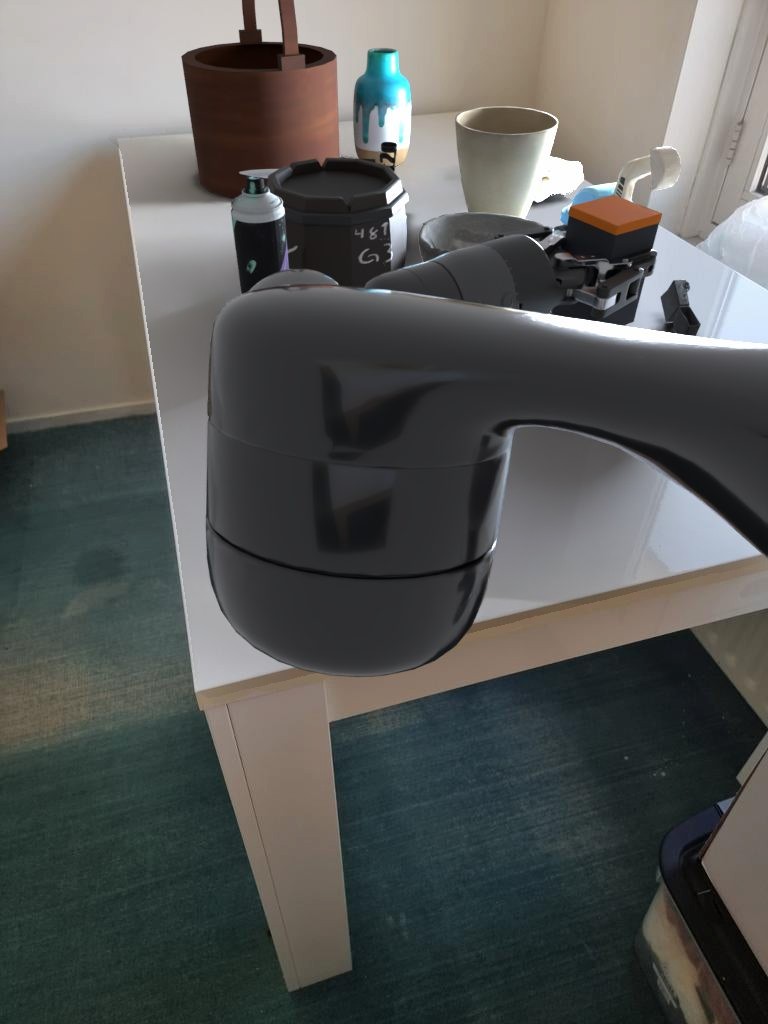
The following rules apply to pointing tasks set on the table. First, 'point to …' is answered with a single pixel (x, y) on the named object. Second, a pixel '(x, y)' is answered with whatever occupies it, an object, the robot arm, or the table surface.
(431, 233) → the bowl
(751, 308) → the table surface
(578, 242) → the black and orange block
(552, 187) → the stone
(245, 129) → the bucket
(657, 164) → the toy excavator
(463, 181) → the plant pot
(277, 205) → the spray can
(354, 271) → the barrel
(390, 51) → the vase
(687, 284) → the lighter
